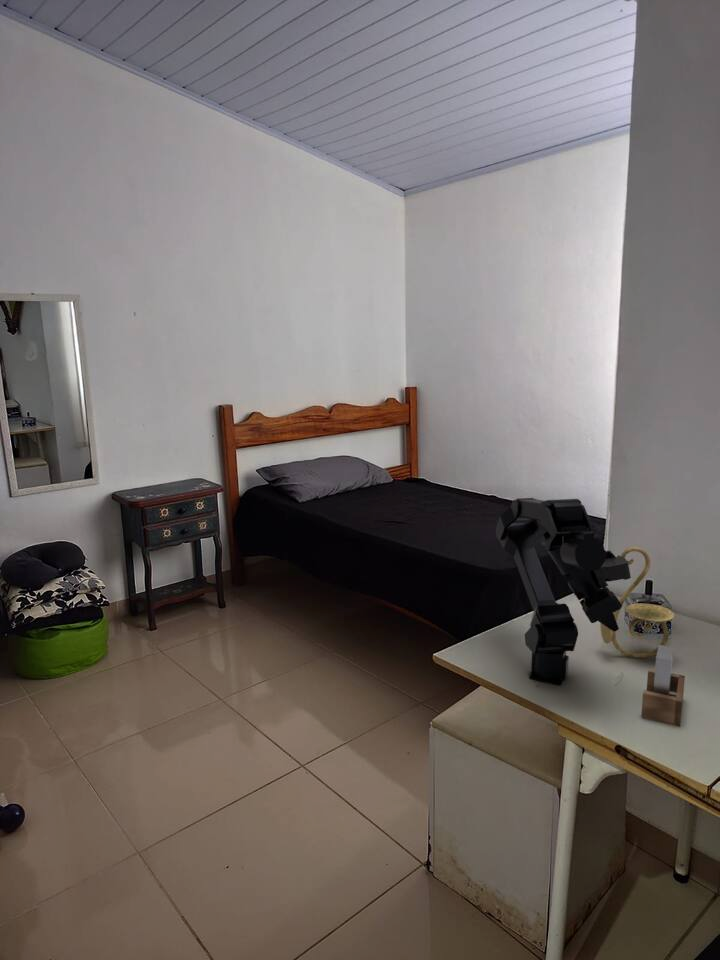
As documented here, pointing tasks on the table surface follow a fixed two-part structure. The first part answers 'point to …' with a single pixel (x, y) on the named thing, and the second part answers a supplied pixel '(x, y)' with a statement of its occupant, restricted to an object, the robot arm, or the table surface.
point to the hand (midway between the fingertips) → (616, 629)
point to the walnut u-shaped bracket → (663, 701)
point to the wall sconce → (639, 613)
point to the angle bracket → (663, 671)
